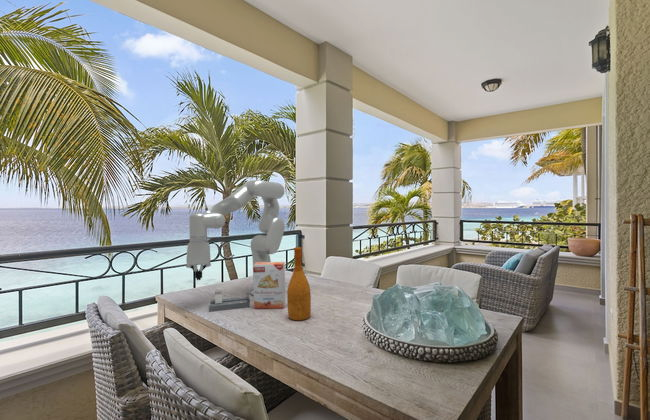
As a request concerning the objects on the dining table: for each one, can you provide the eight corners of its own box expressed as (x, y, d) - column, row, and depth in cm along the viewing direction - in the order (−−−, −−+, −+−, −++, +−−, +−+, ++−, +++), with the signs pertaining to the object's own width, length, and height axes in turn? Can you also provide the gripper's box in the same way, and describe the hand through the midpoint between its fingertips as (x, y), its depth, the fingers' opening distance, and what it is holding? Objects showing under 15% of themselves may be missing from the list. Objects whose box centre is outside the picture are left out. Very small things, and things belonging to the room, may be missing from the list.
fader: (222, 301, 151) (222, 290, 151) (222, 304, 146) (221, 293, 146) (215, 302, 150) (215, 291, 150) (215, 305, 145) (214, 294, 145)
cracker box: (253, 309, 144) (252, 264, 144) (256, 305, 150) (255, 261, 150) (284, 308, 144) (282, 263, 144) (285, 304, 150) (284, 261, 150)
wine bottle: (314, 314, 136) (312, 245, 135) (305, 322, 127) (304, 248, 126) (293, 312, 139) (292, 245, 139) (283, 320, 130) (282, 248, 129)
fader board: (248, 300, 157) (248, 292, 157) (250, 307, 147) (249, 298, 147) (210, 305, 151) (210, 296, 151) (209, 311, 142) (209, 303, 142)
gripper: (215, 238, 150) (216, 276, 151) (182, 239, 146) (182, 279, 146) (215, 240, 143) (215, 280, 143) (179, 241, 139) (179, 282, 139)
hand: (198, 279), depth 145 cm, fingers closed
